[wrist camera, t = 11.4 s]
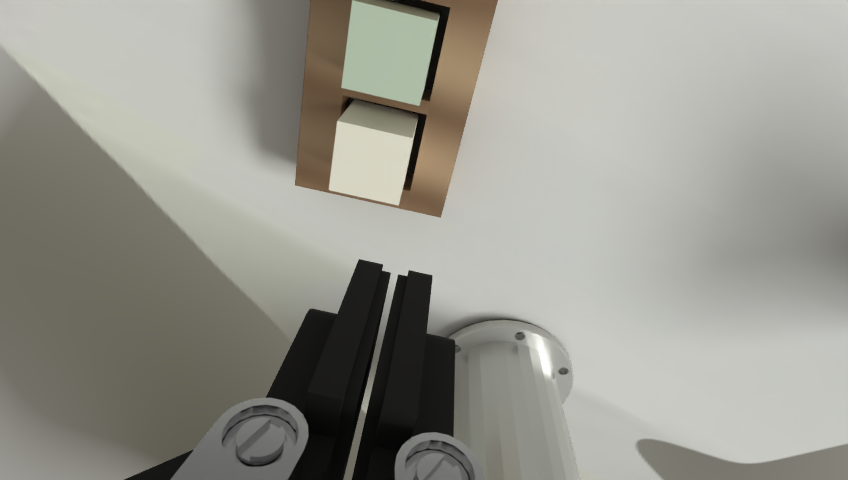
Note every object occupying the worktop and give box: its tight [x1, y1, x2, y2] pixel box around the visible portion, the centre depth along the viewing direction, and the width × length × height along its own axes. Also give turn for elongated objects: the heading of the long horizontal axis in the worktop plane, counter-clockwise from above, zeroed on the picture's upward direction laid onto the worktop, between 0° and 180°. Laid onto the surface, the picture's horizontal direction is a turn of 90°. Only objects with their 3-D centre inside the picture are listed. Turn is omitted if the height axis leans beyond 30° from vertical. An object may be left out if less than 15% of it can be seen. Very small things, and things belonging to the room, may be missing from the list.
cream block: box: [329, 99, 419, 206], centre depth 29 cm, size 4×4×5 cm
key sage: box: [341, 0, 440, 106], centre depth 26 cm, size 4×4×5 cm
